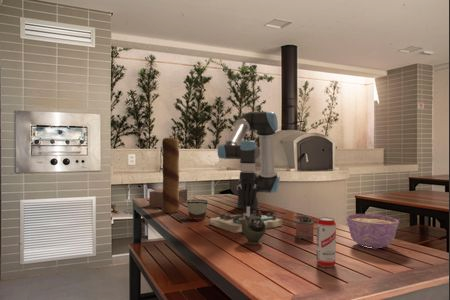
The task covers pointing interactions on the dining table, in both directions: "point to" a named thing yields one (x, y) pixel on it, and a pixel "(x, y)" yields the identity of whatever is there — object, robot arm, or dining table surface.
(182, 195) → the tissue box cover
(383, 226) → the bowl of food
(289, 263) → the dining table surface
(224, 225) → the mount
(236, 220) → the teal strap
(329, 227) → the beer can
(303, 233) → the potted succulent
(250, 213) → the charcoal strap
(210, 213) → the dining table surface
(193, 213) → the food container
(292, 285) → the dining table surface
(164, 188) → the wafer roll
